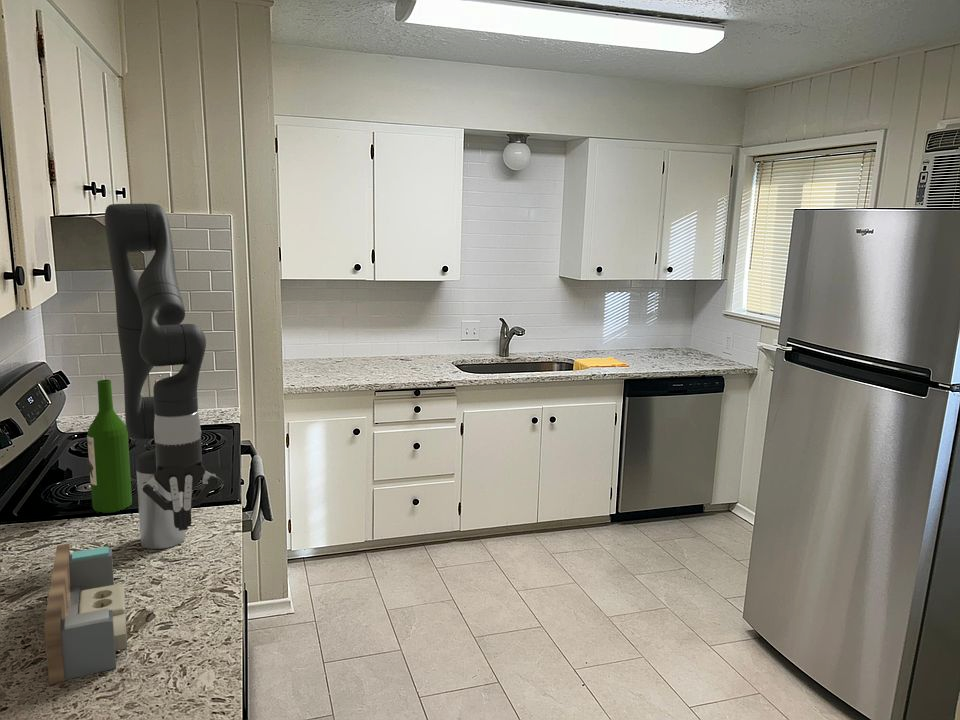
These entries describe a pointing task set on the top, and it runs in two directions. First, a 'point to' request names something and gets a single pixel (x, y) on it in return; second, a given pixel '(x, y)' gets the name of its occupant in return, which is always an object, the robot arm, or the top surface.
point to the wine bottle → (108, 456)
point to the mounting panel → (57, 613)
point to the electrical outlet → (108, 599)
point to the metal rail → (74, 600)
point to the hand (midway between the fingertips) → (182, 528)
